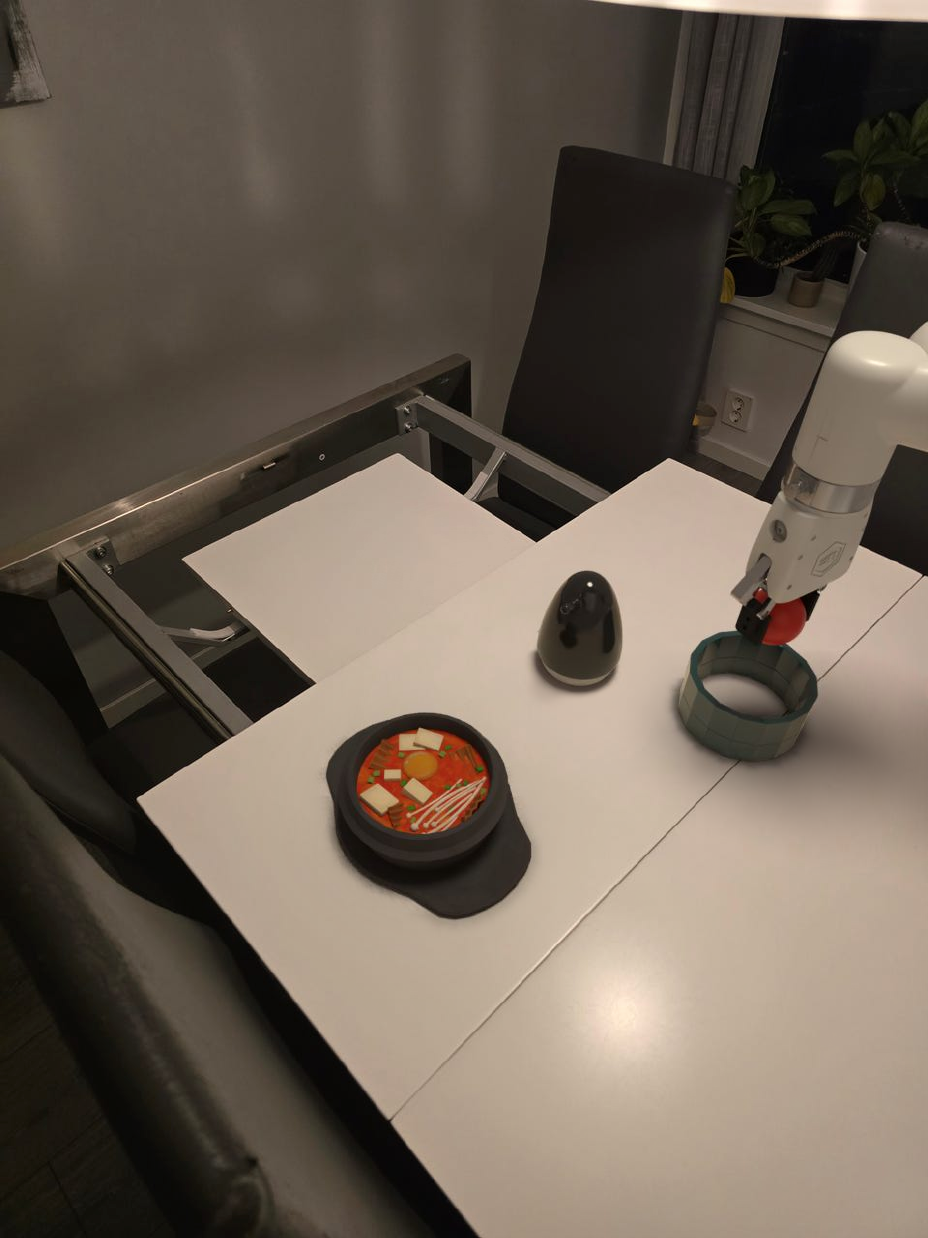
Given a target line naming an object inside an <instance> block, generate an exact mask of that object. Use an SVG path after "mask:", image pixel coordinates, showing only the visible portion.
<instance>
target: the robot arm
mask: <svg viewBox="0 0 928 1238" xmlns="http://www.w3.org/2000/svg"><path fill="white" fill-rule="evenodd" d="M898 445H901V446H904V447H908V448H911V449H916V450H919V451H923V452H926V453H928V321H926V322H925V323H924V324H922V325H921V326H920V327H919V328H918V329H917V330H915V332H913V333H912V335H910V337H909V338H906V337H905V336H901V335H898V334H894V333H892V332H891V333H890V332H886V331H879V330H858V331H853V332H850V333H848V334H847V333H846V334H845V335H843V336H841V337H840V338H838V339H837V340H835V342H833V344H832V345H831V346H830V348H829V349H828V351H827V354H826V356H825V358H824V361H823V364H822V366H821V368H820V372H819V375H818V378H817V380H816V383H815V386H814V388H813V391H812V394H811V397H810V400H809V403H808V405H807V408H806V411H805V414H804V417H803V420H802V423H801V426H800V427H799V431H798V434H797V437H796V439H795V442H794V444H793V448H792V451H791V454H790V455H789V459H788V462H787V465H786V468H785V471H784V474H783V475H782V476H783V477H782V478H781V482H780V483H781V484H780V489H781V490H780V491H779V492H778V493H777V495H776V497H775V499H774V500H773V503H772V504H771V506H770V508H769V510H768V512H767V514H766V516H765V518H764V520H763V522H762V524H761V527H760V528H759V531H758V533H757V535H756V538H755V540H754V543H753V545H752V548H751V550H750V552H749V556H748V559H747V563H746V566H745V572H744V576H743V577H742V579H741V580H740V581H739V582H738V583H737V584H736V585H735V586H734V587H733V589H732V590H730V593H729V595H730V596H731V597H732V598H734V599H735V600H736V602H738V603H739V604H741V608H740V611H739V614H738V615H737V616H738V617H737V619H736V622H735V625H734V628H735V631H738V632H739V633H741V634H742V635H743V636H744V637H745V638H746V639H748V640H749V641H750V642H751V643H752V644H753V645H755V646H758V645H760V644H761V643H762V641H763V639H764V636H765V634H766V631H767V629H768V626H769V624H770V621H771V619H772V617H771V616H770V615H769V613H770V612H771V610H772V609H773V607H774V606H775V604H776V603H786V602H789V601H792V600H794V599H797V598H800V599H801V600H802V602H803V604H804V606H805V609H806V623H807V622H809V621H810V619H811V616H812V615H813V612H814V610H815V608H816V606H817V603H818V601H819V600H820V599H819V598H820V596H821V592H823V591H824V590H825V589H826V588H827V587H828V585H829V584H831V583H833V582H834V581H836V580H838V579H840V578H841V577H843V576H844V575H845V574H846V573H847V572H848V571H849V569H850V566H851V564H852V562H853V560H854V558H855V556H856V554H857V550H858V548H859V546H860V544H861V541H862V538H863V536H864V533H865V530H866V528H867V524H868V522H869V519H870V516H871V511H872V507H873V504H874V496H875V494H876V491H877V490H878V487H879V485H880V483H881V480H882V479H883V476H884V475H885V472H886V470H887V468H888V465H889V463H890V461H891V459H892V457H893V454H894V453H895V450H896V448H897V447H898ZM760 590H763V591H765V592H766V593H767V594H768V597H767V599H766V600H765V602H764V603H763V604H762V603H760V602H759V601H758V600H757V599H756V598H755V596H756V594H757V593H758V591H760Z"/></svg>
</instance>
